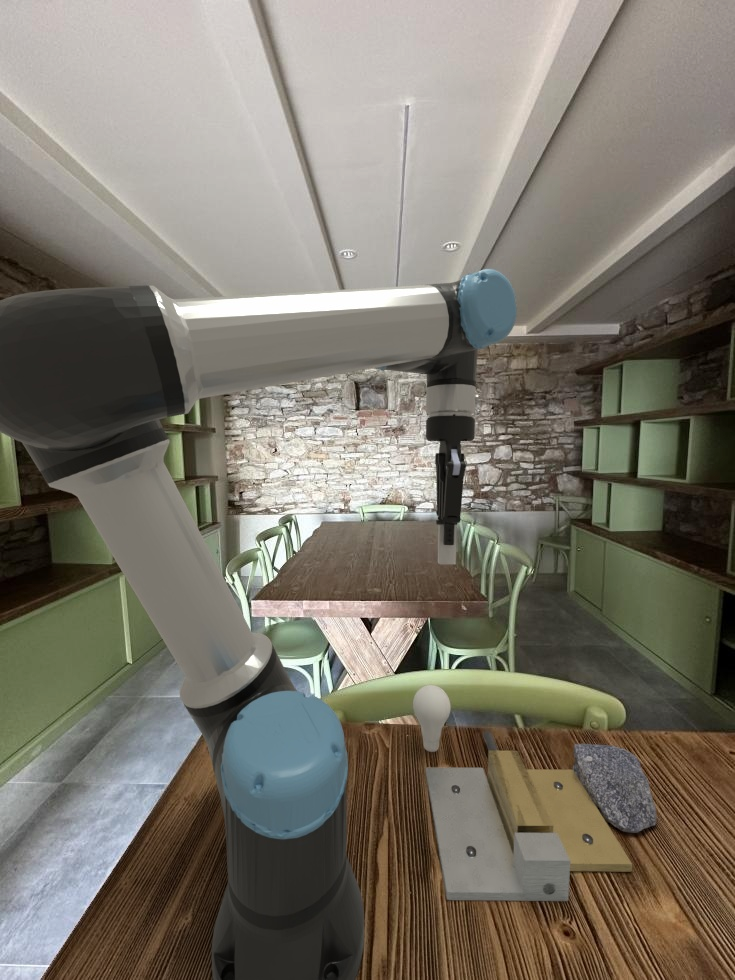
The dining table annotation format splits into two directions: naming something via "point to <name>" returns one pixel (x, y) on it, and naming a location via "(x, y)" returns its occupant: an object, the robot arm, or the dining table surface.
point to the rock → (616, 785)
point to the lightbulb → (431, 714)
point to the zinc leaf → (490, 843)
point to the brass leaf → (553, 812)
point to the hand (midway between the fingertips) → (446, 562)
